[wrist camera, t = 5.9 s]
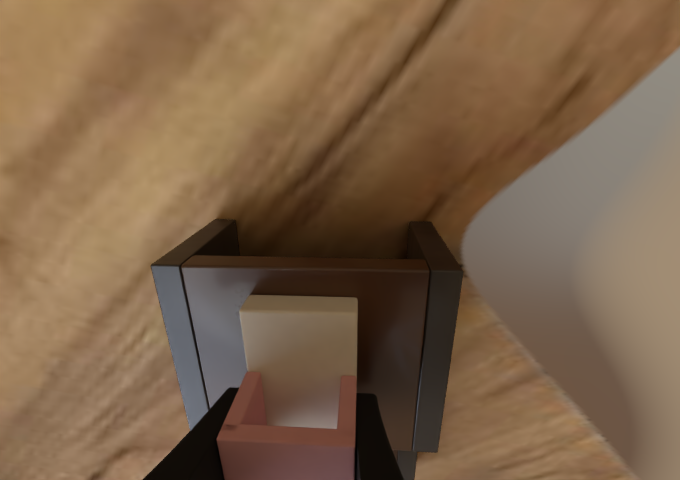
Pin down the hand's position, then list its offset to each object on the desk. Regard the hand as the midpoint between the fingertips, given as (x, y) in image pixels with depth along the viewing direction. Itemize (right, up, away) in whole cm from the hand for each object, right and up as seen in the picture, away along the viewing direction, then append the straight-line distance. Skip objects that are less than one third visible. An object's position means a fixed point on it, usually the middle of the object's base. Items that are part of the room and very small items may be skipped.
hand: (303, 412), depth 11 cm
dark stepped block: (0, -1, +7) cm, 7 cm away
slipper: (0, +1, +1) cm, 1 cm away
